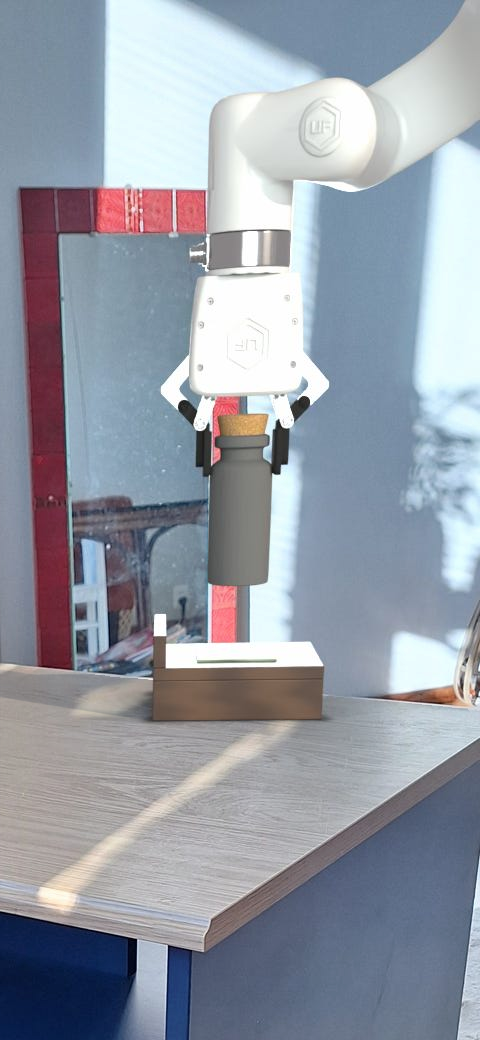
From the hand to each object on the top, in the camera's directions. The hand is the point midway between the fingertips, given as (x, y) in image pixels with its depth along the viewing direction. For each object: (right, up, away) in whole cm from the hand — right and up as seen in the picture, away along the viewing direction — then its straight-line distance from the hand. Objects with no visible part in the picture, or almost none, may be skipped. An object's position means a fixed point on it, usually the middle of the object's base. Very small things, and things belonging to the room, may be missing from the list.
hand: (241, 472), depth 138 cm
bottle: (0, -9, +4) cm, 10 cm away
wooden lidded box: (+1, -20, +9) cm, 22 cm away
